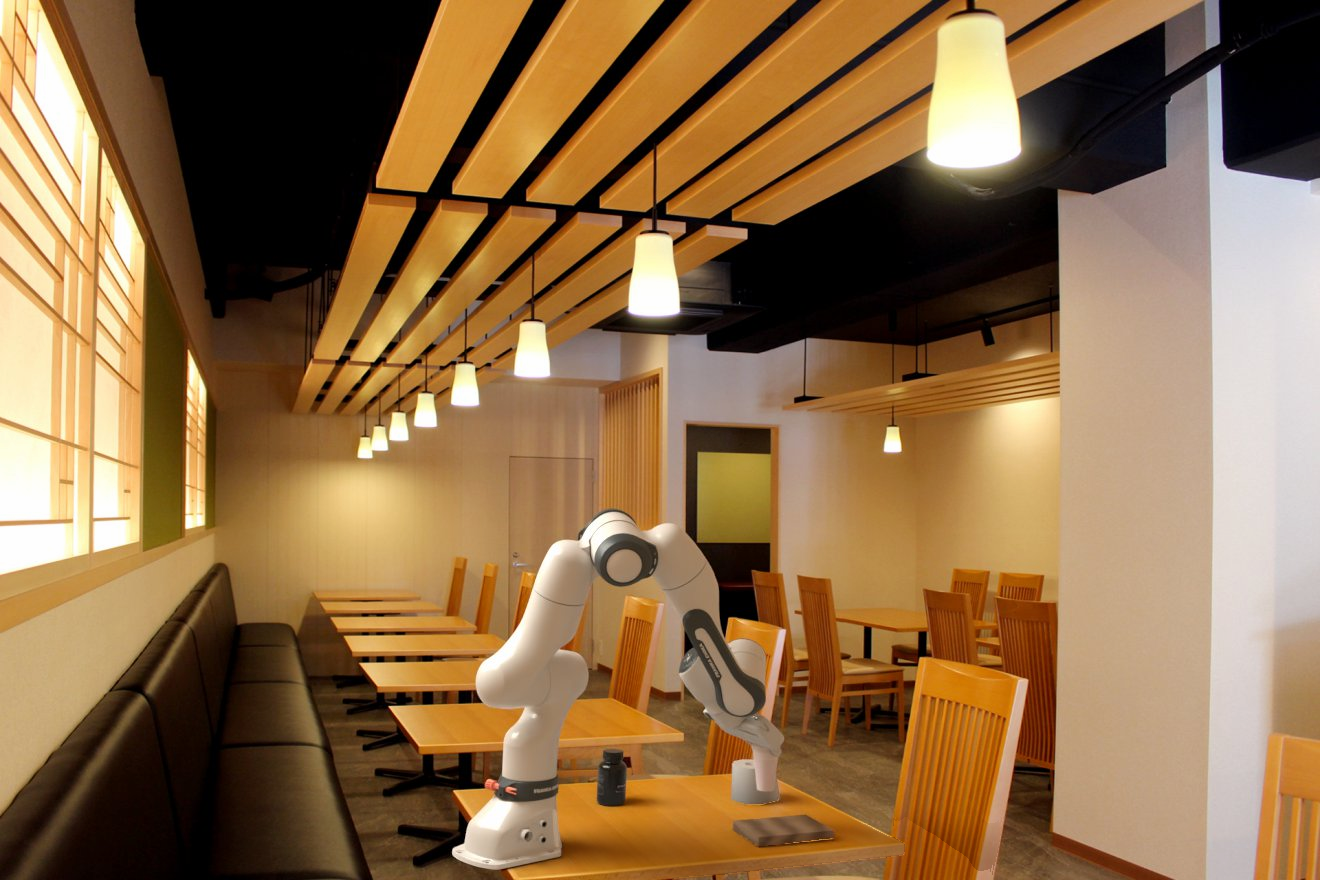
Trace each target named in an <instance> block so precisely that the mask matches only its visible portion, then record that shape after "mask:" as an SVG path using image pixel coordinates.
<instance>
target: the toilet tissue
mask: <svg viewBox="0 0 1320 880" xmlns="http://www.w3.org/2000/svg"><path fill="white" fill-rule="evenodd" d="M730 791H731V793H730V794H731V795H730V798H731V799H732V800H734V801H735V802H739V803H744V804H764V803H769V802H773V801H777V800H778V799H780V800H781V794H780V788H779V783H778V778H777V775H776V777H775V784H774V790H773V791H769V792H765V791H759V790H757V785H756V775H755V765H754V759H750V758H749V759H746V758H742V759H739V760H734V761H733V762H732V763H731V790H730ZM731 799H730V800H731ZM732 800H731V801H732ZM735 802H734V803H735ZM777 802H778V801H777Z"/></svg>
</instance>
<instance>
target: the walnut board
mask: <svg viewBox="0 0 1320 880" xmlns="http://www.w3.org/2000/svg"><path fill="white" fill-rule="evenodd" d="M732 831H733V832H735V833H737V835H739V834H740V835H739V836H741V835H742V836H743V838H744V837H745V838H747V839H748V840H749V842H750V841H751V842H753V843H754V844H756V845H757V846H758V847H757V846H756V845H755V846H756V847H757V848H760V847H759V846H766V847H769V846H768V845H776V846H778V845H777V844H785V843H793V842H802V841H811V840H819V839H830V838H834V839H835V830H834V829H833V828H831V827H829V826H827V825H826V824H823V823H822V822H821V821H818V820H816V819H815V818H813V817H811V816H809V815H807V814H796V815H795V814H794V815H785V816H784V815H783V816H774V817H763V818H762V817H761V818H749V819H748V818H747V819H737V820H733V822H732ZM742 836H741V837H742ZM745 838H744V839H745ZM747 839H746V840H747ZM748 840H747V841H748ZM751 842H750V843H751ZM753 843H752V844H753ZM754 844H753V845H754Z"/></svg>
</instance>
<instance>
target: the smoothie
mask: <svg viewBox="0 0 1320 880" xmlns="http://www.w3.org/2000/svg"><path fill="white" fill-rule="evenodd" d="M779 748H780V749H781V746H780V747H779ZM751 750H752V753H753V760H754V765H755V775H756V785H757V790H759V791H765V792H769V791H773V790H774V784H775V777H776V776H777V767H778V760H779V757H775V756H773V755H772V754H771V753H770V752H769V751H770V749H769V748H766V747H763V746H760V745H758V744H755V743H752V746H751Z"/></svg>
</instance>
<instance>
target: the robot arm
mask: <svg viewBox="0 0 1320 880" xmlns="http://www.w3.org/2000/svg"><path fill="white" fill-rule="evenodd" d="M577 534H578V535H577V540H573V539H562V540H561V539H560V540H558V541H556V542H554V543H553V544H551V546H550V548H549V549H548V550H547V553H546V554H545V556H544V558H543V560H542V563H541V565H540V567H539V569H538V571H537V574H536V578H535V580H534V584H533V586H532V590H531V592H530V596H529V599H528V602H527V605H526V608H525V611H524V613H523V616H522V618H521V620H520V623H519V624H518V625H517V627H516V629H515V630H514V632H513V633H512V634H511V636H510V637H509V639H507V641H506V642H505V643H504V644H503V646H502V647H501V648H500V649H498V650H497V651H496V652H495V653H494V654H493V655H491V656H489V657H488V658H487V659H485V660H484V661H482V663H481V664H480V666H479V667H478V670H477V672H476V675H475V690H476V693H477V696H478V698H479V699H480V700H481V702H482V703H483V704H484V705H485V706H487V707H489V708H495V709H502V710H515V709H522V708H523V712H522V714H521V715H520V717H519V718H518V720H517V721H516V722H515V723H514V725H512V726H511V727H510V728H509V729H508V730H507V732H506V733H505V735H504V738H503V742H502V743H503V745H502V746H503V747H502V748H503V749H502V768H501V769H502V770H501V771H502V772H501V773H500V776H499V778H498V779H497V780H493V779H491V778H488V779H487V780H486V782H484V788H485V789H486V790H489V791H492V792H493V794H494V795H493V796H492V798H490V800H489V801H488V802H487V803H486V804H485V805H484V806H483V807H482V808H481V809H480V810H479V811H478V812H477V814H475V815H474V816H473V817H472V818H471V819H470V820H469V822H468V824H467V827H466V831H465V832H466V833H465V838H464V842H463V843H462V844H459V845H457V846H454V847H453V848H452V851H451V853H452V856H453V857H454V858H456V859H457V860H458V861H461V862H463V863H465V864H467V865H471V866H474V867H478V868H480V869H481V868H483V869H487V870H498V871H499V870H503V869H507V868H508V869H509V868H512V867H518V866H522V865H523V866H524V865H527V864H531V863H532V864H533V863H537V862H540V861H546V860H551V859H555V858H559V857H561V856H562V847H563V844H562V840H561V834H560V830H559V829H560V827H559V814H558V807H557V806H558V805H557V795H558V794H559V787H560V785H559V784H560V783H559V779H560V778H559V775H558V771H557V770H558V758H559V757H558V755H559V746H560V745H559V743H560V737H561V732H562V728H563V725H564V724H565V720H566V718H567V716H568V714H569V712H570V710H571V708H572V706H573V705H574V703H575V702H576V701H577V699H578V698H579V697H580V696H581V695H582V694H583V693H584V692H585V691H586V688H587V686H588V683H589V675H590V674H589V668H588V664H587V662H586V660H585V658H584V657H583V656H582V655H581V654H580V653H578V652H576V651H571V650H566V649H561V648H562V647H564V646H565V645H567V644H569V642H571V640H573V639H574V637H575V636H576V634H577V632H578V628H579V625H580V622H581V619H582V616H583V612H584V610H585V606H586V603H587V599H588V598H589V597H588V596H589V593H590V589H591V587H592V585H593V584H594V582H595V581H596V579H597V578H598V577H599V576H600V577H601V579H602V580H604V581H605V582H606V583H608V584H609V585H611V586H614V587H619V588H620V587H621V588H624V587H629V586H632V585H635V584H637V583H639V582H640V581H642V580H644V579H648V578H650V577H651V576H652V577H653V579H654V580H655V582H656V583H657V585H658V586H659V588H660V590H661V591H662V593H663V594H664V597H666V599H667V601H668V602H669V603H670V606H671V607H672V609H673V610H674V612H675V614H676V615H677V618H678V619H679V621H680V623H681V625H682V627H683V629H684V631H685V633H686V634H687V637H688V639H689V641H690V643H691V644H692V648H691V649H689V650H688V651H687V652H686V653H685V654H684V656H683V658H682V659H681V661H680V664H679V669H678V674H679V677H680V679H681V681H682V682H683V685H684V686H685V687H686V689H687V690H688V691H689V692H690V693H691V695H692V696H693V697H694V698H695V699H696V701H698V702H700V703H701V704H702V705H703V706H704V707H705V709H704V710H703V711H702V712H703V715H704V716H705V717H706V718H708V719H709V720H712V721H713V722H714V724H716V725H717V726H718V727H719V728H720V729H721V730H722V731H724V732H725V733H726V734H728V735H729V736H730V735H731V736H733V737H736V738H739V739H742V740H743V741H744V742H745V743H747V744H748V745H750V746H751V747H752V743H755V744H758V745H760V746H763V747H766V748H769V749H770V751H769V752H770V753H771V754H772V755H773V756H775V757H778V758H779V757H780V756H781V755H782V752H783V751H782V749H781V745H782V744H783V743H784V742H785V736H784V734H783V733H782V732H781V731H780V730H779V728H777V726H775V725H774V724H773V722H772V721H770V720H769V719H768V718H767V717H766V716H764V715H762V714H759V712H760V711H761V710H763V708H764V707H765V705H766V702H767V698H766V697H767V693H766V676H767V675H766V671H767V670H766V669H767V668H766V667H767V655H766V651H765V650H764V648H763V646H761V645H760V644H759V643H758V642H757V641H755V640H752V639H750V638H742V637H741V638H737V639H733V640H731V641H730V642H727V640H726V638H725V636H724V633H723V630H722V625H721V619H720V590H719V583H718V580H717V578H716V576H715V575H716V574H715V572H714V570H713V568H712V566H711V565H710V562H709V561H708V559H707V558H706V556H705V555H704V553H703V552H702V550H701V549H700V548H699V547H698V546H697V544H696V542H695V541H694V540H693V539H692V538H691V537H690V536H689V534H688V533H687V532H685V530H683V528H682V527H681V526H679V525H678V524H675V523H672V522H664V523H661V524H658V525H656V526H654V527H652V528H651V529H648V530H641V529H640V527H639V526H638V524H637V523H636V521H635V519H634V518H633V517H632V516H631V515H630V514H629V513H627V512H625V511H624V510H621V509H619V508H612V507H611V508H605V509H603V510H601V511H599V512H597V514H595V515H594V516H593V517H592V518H591V519H590V521H589V522H588V523H587V524H586V525H585V526H584V527H583V528H582V529H581V530H580V531H579V532H578V533H577ZM779 747H780V748H779Z"/></svg>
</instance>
